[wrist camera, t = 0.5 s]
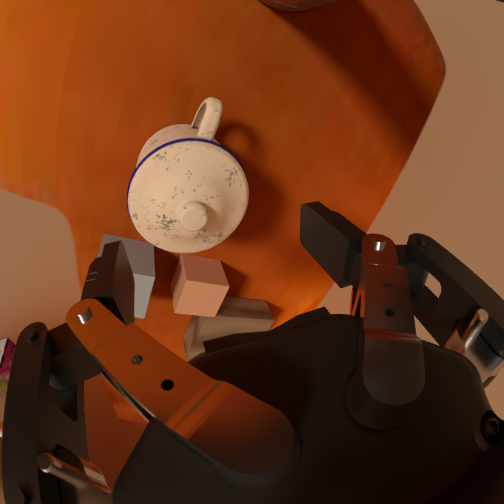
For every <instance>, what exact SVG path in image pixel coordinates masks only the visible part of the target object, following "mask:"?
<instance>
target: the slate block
mask: <svg viewBox="0 0 504 504" xmlns="http://www.w3.org/2000/svg"><path fill="white" fill-rule="evenodd" d="M119 240H121V241H122V242H123V245H124V248H125V251H126V254H127V257H128V260H129V263H130V266H131V269H132V272H133V276H134V281H135V297H134V317H138V318H145V314H146V310H147V306H148V302H149V298H150V294H151V291H152V287H153V283H154V280H155V263H154V245H153V244H151V243H148V242H143V241H138V240H133V239H128V238H123V237H118V236H113V235H109V234H103V237H102V241H101V245H100V249H99V254H98V257H101V255H102V252H103V248H104V245H105V244H107V243H111V242H115V241H119Z"/></svg>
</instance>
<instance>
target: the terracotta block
mask: <svg viewBox="0 0 504 504" xmlns="http://www.w3.org/2000/svg"><path fill="white" fill-rule="evenodd" d="M229 287H230V286H229V284H228V281H227V278H226V276H225V273H224V270H223V267H222V265H221V262H220V260H215V259H210V258H205V257H199V256H194V255H189V254H184V253H181V256H180V258H179V261H178V264H177V267H176V270H175V273H174V276H173V279H172V282H171V291H172V299H173V306H174V312H175V313H179V314H188V315H197V316H207V317H215V315H216V313H217V311H218V309H219V307H220V305H221V303H222V301H223V299H224V297H225V295H226V293H227V291H228V289H229Z"/></svg>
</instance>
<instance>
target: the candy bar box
mask: <svg viewBox="0 0 504 504" xmlns="http://www.w3.org/2000/svg"><path fill="white" fill-rule="evenodd" d="M15 348H16V345H15V344H14V343H13V342H12V341H11V340H10V339H9V338H8V337H7V338H4V339H1V340H0V436H1V437H2V431H3V418H4V408H5V400H6V393H7V386H8V381H9V375H10V370H11V365H12V360H13V356H14V352H15Z"/></svg>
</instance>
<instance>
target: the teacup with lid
mask: <svg viewBox="0 0 504 504" xmlns="http://www.w3.org/2000/svg"><path fill="white" fill-rule="evenodd" d="M222 109H223V105H222V102H221V101H220V100H219V99H216V98H213V97H209V98H207V99H205V100H204V101H203V103H202V104H201V105H200V107H199V109H198V111H197V113H196V115H195V118H194V120H193V123H192V125H188V124H177V125H172V126H168V127H166V128H163V129H161V130H160V131H158V132H156V133H155V134H154V135H153V136H151V137H150V138H149V140H148V141H147V142H146V143H145V145H144V146H143V148H142V150H141V152H140V155H139V158H138V162H137V166H136V169H135V170H134V172H133V174H132V176H131V179H130V182H129V185H128V190H127V207H128V212H129V215H130V218H131V220H132V222H133V224H134V226H135V227H136V229H137V230H138V232H139V233H140V234H141V235H142V236H143V237H144V238H145V239H146V240H147V241H148V242H150V243H151V244H153V245H154V246H156V247H158V248H161V249H163V250H166V251H170V252H175V253H194V252H199V251H203V250H206V249H209V248H211V247H213V246H215V245H217V244H219V243H221V242H222V241H223V240H225V239H226V238H227V237H228V236H229V235H230V234H231V233H232V232H233V231H234V230H235V229H236V228H237V226H238V225H239V224H240V222H241V220H242V218H243V216H244V214H245V212H246V209H247V205H248V199H249V184H248V179H247V175H246V173H245V170H244V168H243V166H242V164H241V163H240V161H239V160H238V159H237V158H236V157H235V155H234V154H232V153H231V152H230V151H229V150H228V149H226V148H225V147H223V146H222V145H220V144H219V143H218V142H217V140H216V139H215V138H214V136H215V133H216V131H217V128H218V125H219V122H220V119H221V115H222Z"/></svg>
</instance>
